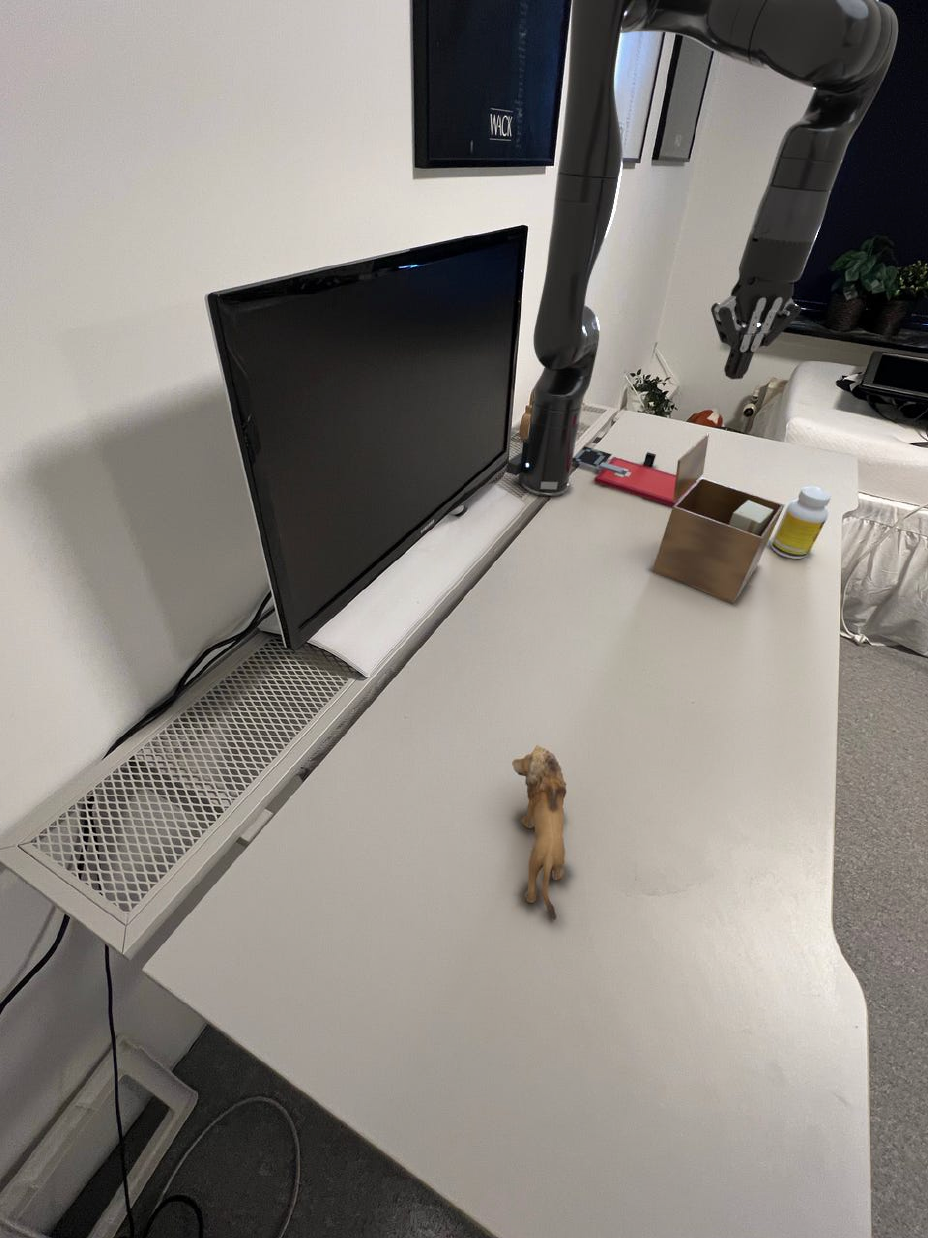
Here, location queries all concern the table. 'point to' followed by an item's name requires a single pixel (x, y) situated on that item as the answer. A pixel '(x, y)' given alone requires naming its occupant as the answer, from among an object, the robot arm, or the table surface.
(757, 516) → the cosmetic box
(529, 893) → the lion figurine
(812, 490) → the pill bottle
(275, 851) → the table surface
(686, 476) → the flap
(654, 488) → the red board with handle
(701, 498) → the carton
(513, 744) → the table surface
